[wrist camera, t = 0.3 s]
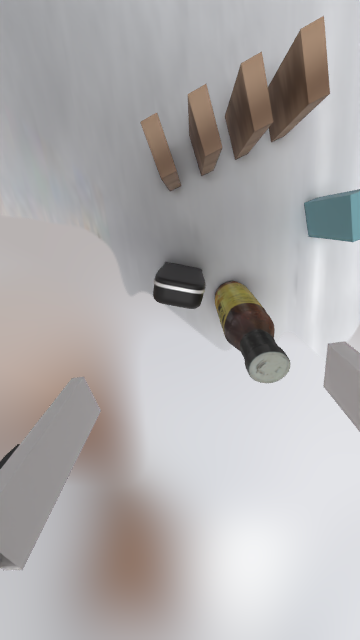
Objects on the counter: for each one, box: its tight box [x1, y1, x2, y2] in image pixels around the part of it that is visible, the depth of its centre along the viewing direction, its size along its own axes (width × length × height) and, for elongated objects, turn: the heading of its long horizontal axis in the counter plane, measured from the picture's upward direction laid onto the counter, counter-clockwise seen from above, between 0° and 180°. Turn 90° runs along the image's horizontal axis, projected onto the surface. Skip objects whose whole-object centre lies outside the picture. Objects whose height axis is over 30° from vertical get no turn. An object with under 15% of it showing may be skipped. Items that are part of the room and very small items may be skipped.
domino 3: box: [225, 52, 273, 160], centre depth 23 cm, size 5×2×10 cm, turn 22°
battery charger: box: [153, 262, 205, 309], centre depth 31 cm, size 7×4×11 cm, turn 80°
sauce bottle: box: [215, 281, 290, 383], centre depth 29 cm, size 6×6×20 cm
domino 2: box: [188, 84, 222, 176], centre depth 24 cm, size 5×2×10 cm, turn 22°
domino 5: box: [304, 189, 360, 242], centre depth 27 cm, size 5×2×10 cm, turn 22°
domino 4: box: [268, 16, 330, 142], centre depth 22 cm, size 5×2×10 cm, turn 22°
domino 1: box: [140, 113, 181, 191], centre depth 25 cm, size 5×2×10 cm, turn 22°
